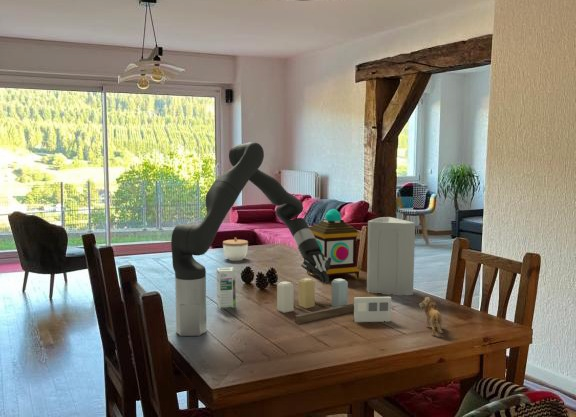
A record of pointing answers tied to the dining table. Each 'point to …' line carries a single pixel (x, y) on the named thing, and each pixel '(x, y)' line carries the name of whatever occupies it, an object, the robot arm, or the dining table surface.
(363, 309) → the tile
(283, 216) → the robot arm
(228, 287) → the syrup box
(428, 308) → the lion figurine
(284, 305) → the ivory key
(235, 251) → the lidded bowl
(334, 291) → the grey rounded cylinder
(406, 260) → the white paneled column
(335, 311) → the wooden slatted rack
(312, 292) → the ochre key
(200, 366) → the dining table surface
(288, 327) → the dining table surface
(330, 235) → the decorative lantern
